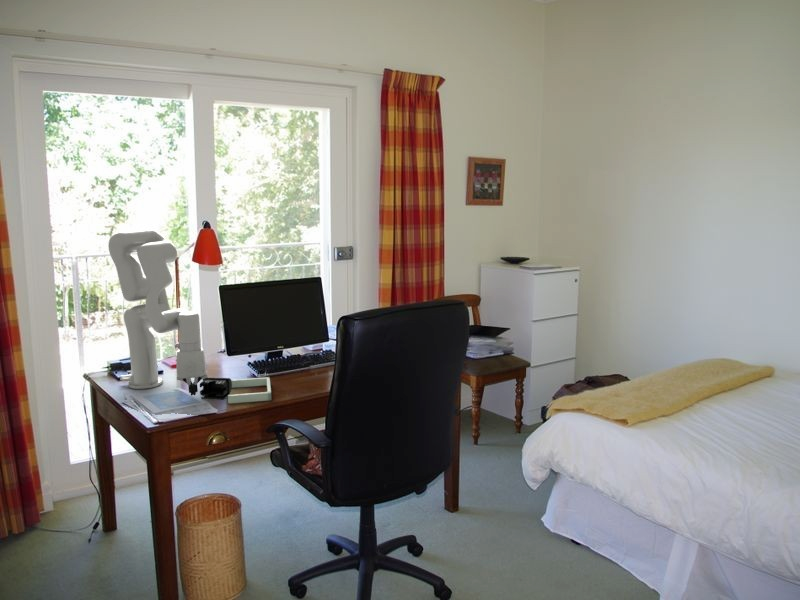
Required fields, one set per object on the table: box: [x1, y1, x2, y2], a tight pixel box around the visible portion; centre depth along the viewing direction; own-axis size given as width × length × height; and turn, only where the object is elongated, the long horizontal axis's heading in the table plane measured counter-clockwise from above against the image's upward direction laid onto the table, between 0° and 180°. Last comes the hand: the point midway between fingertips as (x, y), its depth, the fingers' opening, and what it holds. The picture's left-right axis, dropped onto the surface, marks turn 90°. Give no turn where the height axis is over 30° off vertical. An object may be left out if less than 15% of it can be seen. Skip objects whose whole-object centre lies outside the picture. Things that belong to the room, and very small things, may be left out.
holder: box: [227, 376, 272, 404], centre depth 244 cm, size 15×18×3 cm
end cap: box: [199, 376, 233, 400], centre depth 241 cm, size 10×7×7 cm
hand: (193, 394), depth 240 cm, fingers closed
